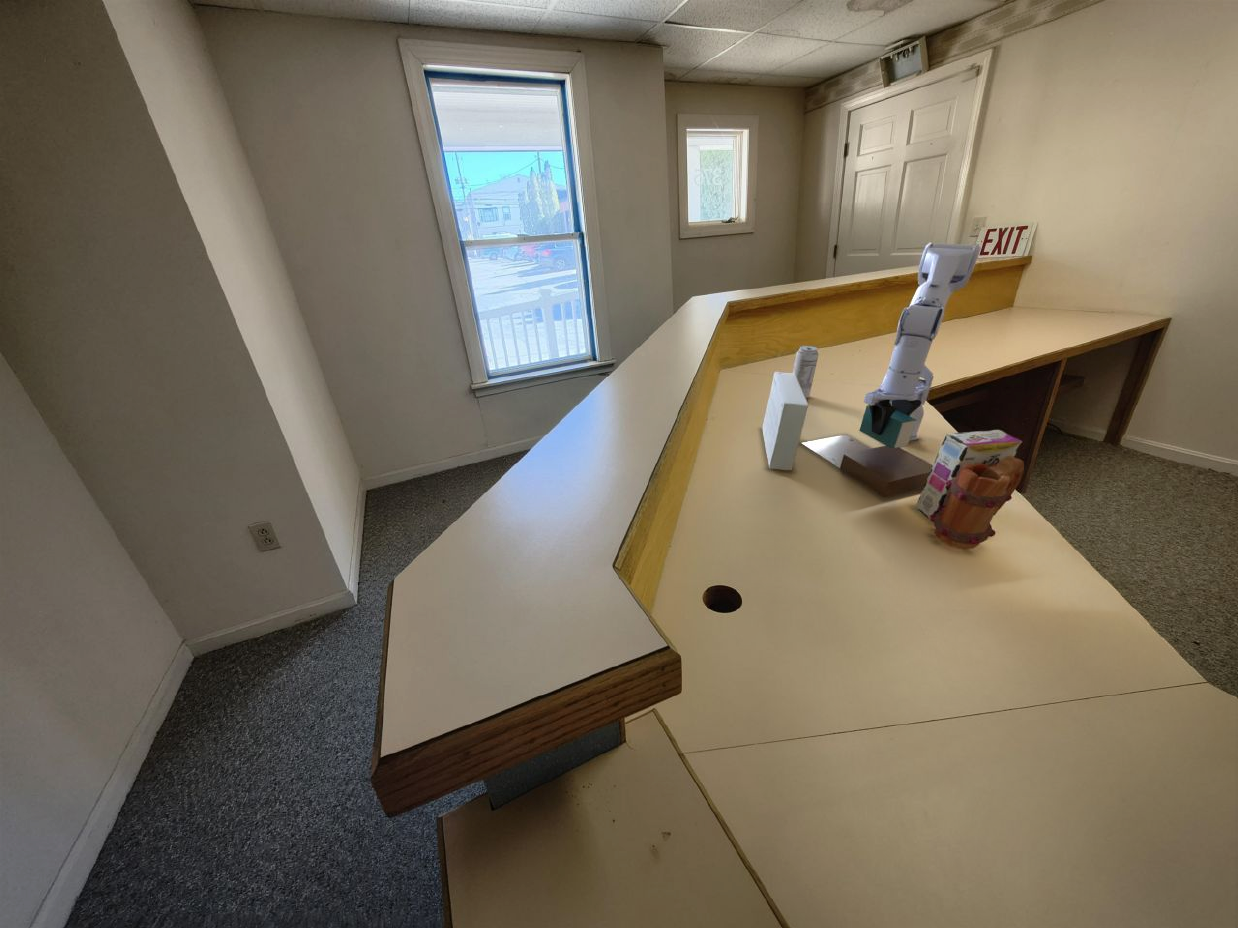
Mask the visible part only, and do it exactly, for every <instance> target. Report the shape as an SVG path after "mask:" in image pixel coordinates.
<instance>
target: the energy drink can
mask: <svg viewBox="0 0 1238 928" xmlns="http://www.w3.org/2000/svg"><path fill="white" fill-rule="evenodd" d="M818 349H819V348H818V347H816V346H813V345H800V346H799V349H798V350H797V351H796V354H795V359H794V365H793V369H792V370H793V371H792V373H794V374H795V376H796V378H797V380H798V383H799V385H800V387H801V390H802V392H803V394H804V397H805V399H806V400H807V399H808V398H809V397H810V395H811V390H812V386H813V383H814V377H815V372H816V368H817V365H818V364H817V363H818V359H819V355H820V354H819V352H818Z"/></svg>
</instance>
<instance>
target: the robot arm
mask: <svg viewBox="0 0 1238 928" xmlns="http://www.w3.org/2000/svg"><path fill="white" fill-rule="evenodd" d="M981 250H982V247H981V246H980V244H979V243H976V244H961V243H960V244H957V243H956V244H955V243H934V242H929V243H928V244H926V245H925V247H924V250H923V251H922V255H921V258H920V261H919V265H918V269H917V270H918V271H917V272H918V273H917V284H918V287H917V289H916V291H915V292H914V295H913V296H912V299H911V301H910V303H909V306H908V307H907V306H905V307H904V308H903V310H902V312H901V313H900V318H899V320H898V324H897V328H896V335H895V339H894V342H893V343H894V344H893V345H894V347H893V351H892V354H891V358H890V361H889V365H888V368H887V370H886V373H885V375H884V377H883V379H882V381H881V385H880V387H878V388H876V389H875V390H873V391H871V392H866V393H865V396H864V399H863V403H865V404H866V405H867V406H868V405H869V408H870V411H871V417H872V432H874V433H876V434H877V435H881V434H882V433H883V431H884V429H885V427H886V425H887V422H888V420H889V419H890V417H891V415H892V414H893V413H894V412H895V411H896V410H897V411H899V412H901V413H903V414H905V415H908V416H910V417H912V418H914V419H916V423H915V426H914V429H913V431H912V434H911V437H910V440H909V441H915V440H919V439H920V437H919V436H918V432H919V428H920V426H921V423H922V421H923V418H924V414H925V410H924V407H923V406H924V405H925V403H926V401H927V398H928V395H929V393H930V390H931V387H932V385H933V383H932V382H933V380H934V373H933V371H931V370H930V369H929V368H928V367H927V365H926V364H925V363H926V360H927V358H928V355H929V353H930V350H931V347H932V343H933V341H934V340H935V339H936V337H937V336H938V333H939V331H940V328H941V325H942V322H943V320H944V316H945V309H946V306H947V303H948V301H949V299H950V297H951V296H952V295H953V293H954V292H955V291H958V290H961V289H965V287H966V286H967V284H968V283H969V281H970V278H971V275H972V274H973V272H974V269H975V266H976V263H977V260H978V258H979V255H980V252H981ZM921 378H922V379H921Z"/></svg>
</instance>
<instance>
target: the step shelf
mask: <svg viewBox="0 0 1238 928" xmlns="http://www.w3.org/2000/svg"><path fill="white" fill-rule="evenodd" d="M801 444H802V445H803V446H804V447H806V448H808V449H810V450H811V451H812V452H814V453H815V454H817V455H819V456H820V457H822V458H823V459H824V460H826V461H828V462H829V463H831V464H832V465H833V466H835V467H837V468H838V469H840V470H841V471H843V472H845V474H847V475H848V476H851V477H852V478H853V479H855V480H857V481H858V482H859V483H861V484H863V486H864V485H865V487H867V488H869V489H870V490H872V491H873V492H875V493H876V494H878V495H880V496H881V497H882V498H886V497H890V496H894V495H899V494H901V493H902V494H903V493H907V492H910V491H914V490H918V489H923V488H924V486H925V483H926V481H927V478H928V476H929V474H930V472H931V469H932V467H933V465H934V464H932V463H930V462H928V461H926V460H924V459H922V458H920V457H918V456H916V455H915V454H913V453H911V452H910V451H907V450H905V449H904V448H902V447H899V448H894V449H892V448H890V447H888V446H886V445H882V446H878V447H872V448H871V447H870V446H868V445H866V444H865V443H863V442H861V441H860V440H858V439H856V438H855V437H852V436H850V435H849V434H847V433H846V434H840V435H835V436H830V437H825V438H820V439H815V440H810V441H803V442H801Z"/></svg>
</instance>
